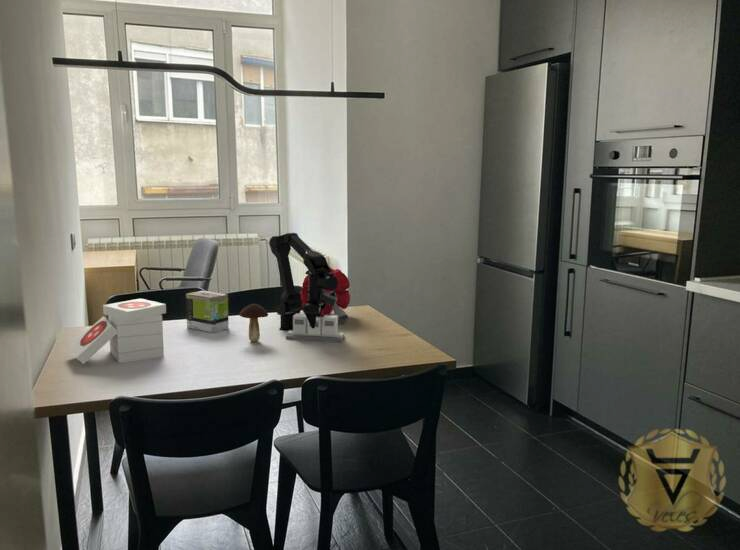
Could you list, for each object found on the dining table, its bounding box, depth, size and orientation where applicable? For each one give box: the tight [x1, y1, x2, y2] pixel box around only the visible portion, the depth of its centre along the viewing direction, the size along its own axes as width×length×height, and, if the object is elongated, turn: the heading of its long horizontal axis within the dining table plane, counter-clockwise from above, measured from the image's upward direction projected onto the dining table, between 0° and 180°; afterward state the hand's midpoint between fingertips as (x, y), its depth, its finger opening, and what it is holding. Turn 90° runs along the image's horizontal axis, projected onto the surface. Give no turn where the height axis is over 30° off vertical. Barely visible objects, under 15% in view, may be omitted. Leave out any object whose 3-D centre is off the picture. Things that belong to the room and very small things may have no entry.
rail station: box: [285, 312, 345, 343], centre depth 236 cm, size 22×8×9 cm, turn 83°
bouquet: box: [300, 267, 351, 324], centre depth 268 cm, size 22×24×30 cm
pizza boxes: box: [69, 298, 167, 365], centre depth 207 cm, size 19×30×18 cm, turn 124°
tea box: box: [185, 290, 229, 334], centre depth 247 cm, size 15×10×15 cm
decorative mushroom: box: [238, 303, 269, 343], centre depth 228 cm, size 11×11×15 cm
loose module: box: [308, 317, 323, 335], centre depth 236 cm, size 5×5×6 cm
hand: (315, 325), depth 236 cm, fingers open, 9 cm apart
